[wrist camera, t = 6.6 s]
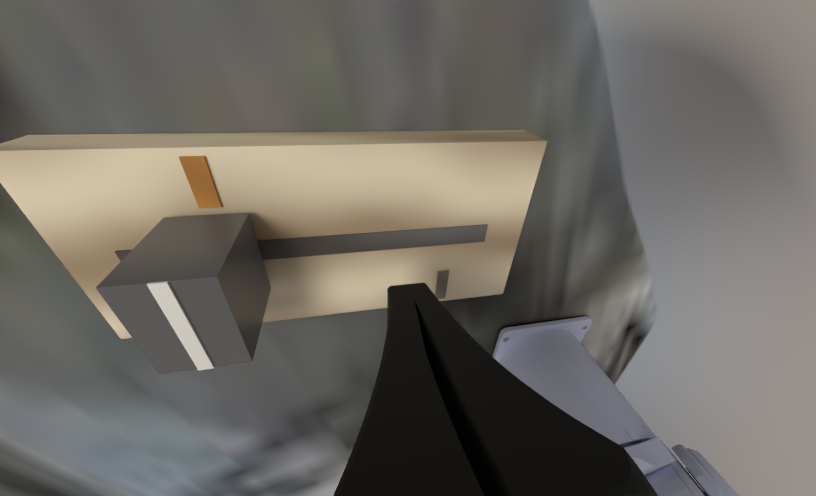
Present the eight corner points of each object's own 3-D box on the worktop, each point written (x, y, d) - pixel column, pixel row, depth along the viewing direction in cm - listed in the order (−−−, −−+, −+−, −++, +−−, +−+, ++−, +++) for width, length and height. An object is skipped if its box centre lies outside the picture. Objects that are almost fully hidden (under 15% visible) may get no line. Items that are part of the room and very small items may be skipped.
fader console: (489, 273, 20) (503, 295, 18) (142, 309, 16) (119, 340, 14) (523, 129, 15) (548, 141, 13) (28, 134, 11) (-28, 152, 9)
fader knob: (271, 288, 14) (251, 363, 11) (201, 295, 14) (158, 376, 10) (249, 212, 12) (215, 278, 9) (163, 217, 11) (93, 289, 8)
